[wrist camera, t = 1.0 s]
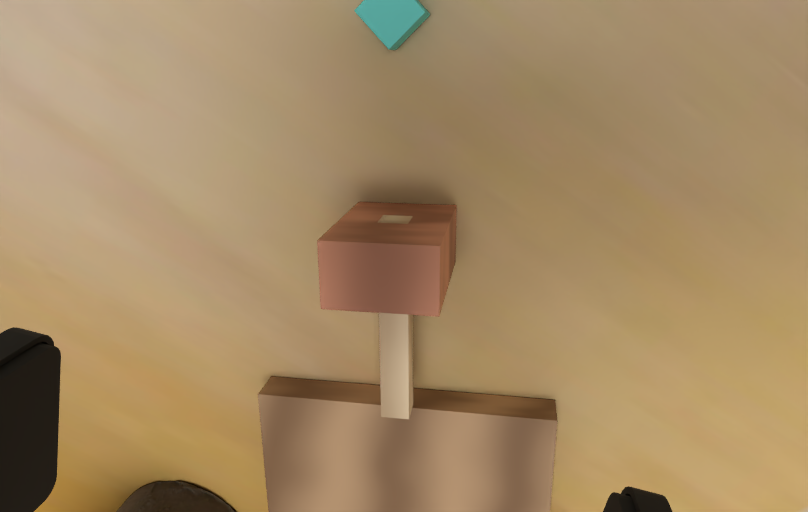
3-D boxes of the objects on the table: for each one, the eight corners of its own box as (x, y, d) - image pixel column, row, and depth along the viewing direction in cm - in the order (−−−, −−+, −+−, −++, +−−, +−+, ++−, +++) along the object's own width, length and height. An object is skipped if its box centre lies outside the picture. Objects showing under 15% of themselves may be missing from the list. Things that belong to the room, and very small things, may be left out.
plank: (555, 400, 33) (557, 420, 31) (540, 576, 36) (542, 604, 35) (271, 376, 35) (258, 394, 34) (285, 543, 39) (273, 567, 37)
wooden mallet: (456, 205, 30) (440, 246, 24) (452, 382, 34) (437, 462, 27) (359, 201, 31) (317, 240, 25) (364, 375, 34) (328, 450, 28)
